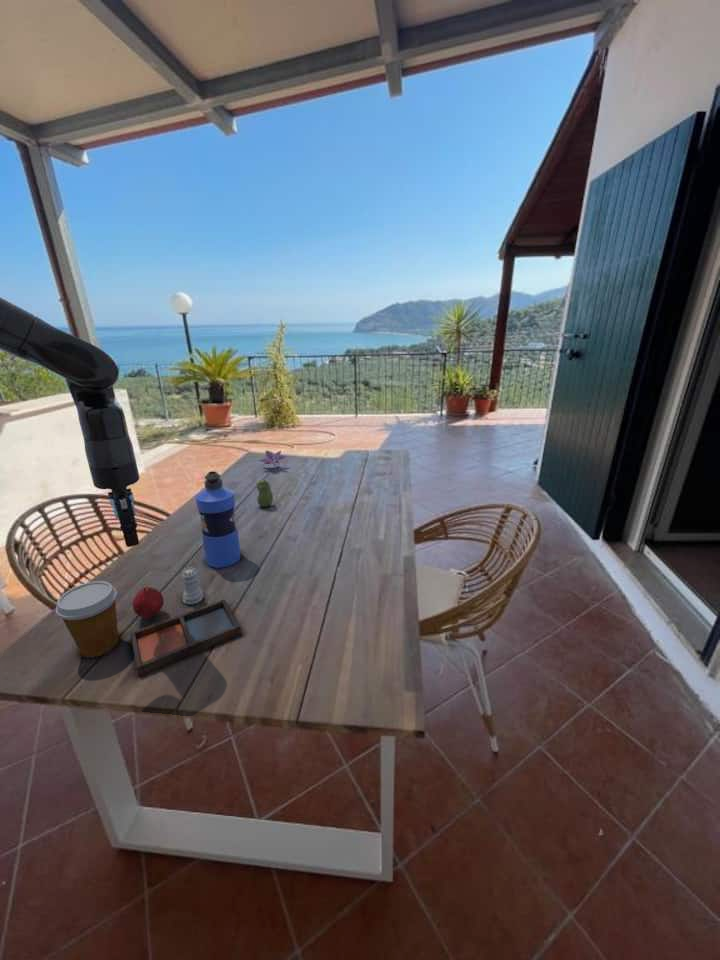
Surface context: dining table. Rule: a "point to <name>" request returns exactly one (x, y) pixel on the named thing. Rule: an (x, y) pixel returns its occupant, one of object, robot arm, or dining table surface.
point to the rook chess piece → (191, 587)
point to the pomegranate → (148, 602)
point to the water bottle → (218, 523)
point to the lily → (272, 457)
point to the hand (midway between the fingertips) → (130, 536)
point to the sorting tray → (183, 636)
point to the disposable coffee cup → (90, 617)
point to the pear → (264, 493)
